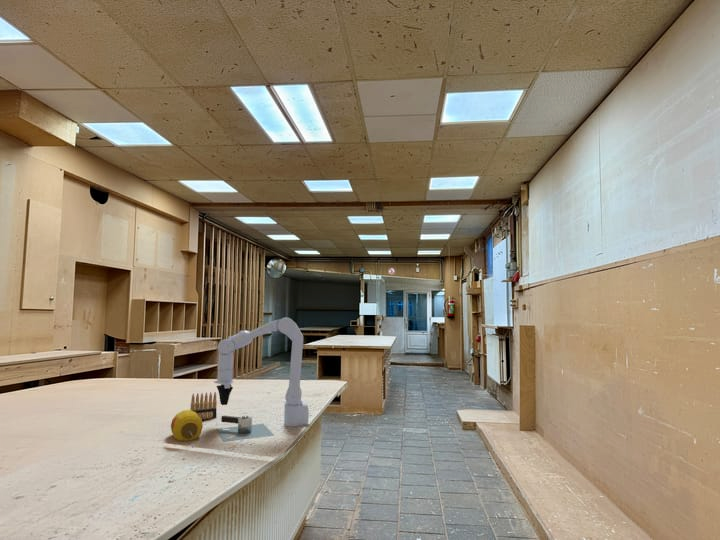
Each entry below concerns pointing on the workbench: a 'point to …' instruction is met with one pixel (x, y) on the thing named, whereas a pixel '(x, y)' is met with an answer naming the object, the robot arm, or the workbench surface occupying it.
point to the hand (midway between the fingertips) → (223, 404)
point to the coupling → (239, 422)
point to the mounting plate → (233, 433)
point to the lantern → (186, 425)
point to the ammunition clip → (207, 409)
